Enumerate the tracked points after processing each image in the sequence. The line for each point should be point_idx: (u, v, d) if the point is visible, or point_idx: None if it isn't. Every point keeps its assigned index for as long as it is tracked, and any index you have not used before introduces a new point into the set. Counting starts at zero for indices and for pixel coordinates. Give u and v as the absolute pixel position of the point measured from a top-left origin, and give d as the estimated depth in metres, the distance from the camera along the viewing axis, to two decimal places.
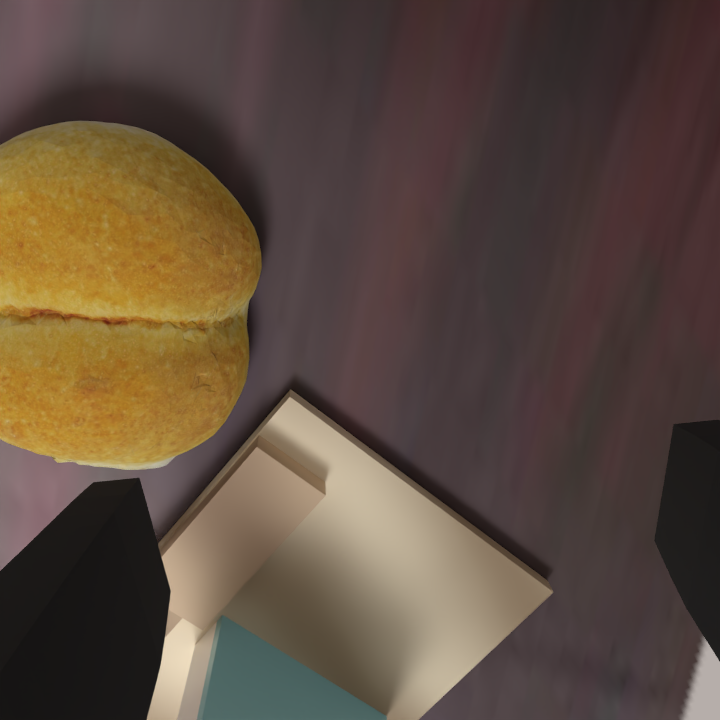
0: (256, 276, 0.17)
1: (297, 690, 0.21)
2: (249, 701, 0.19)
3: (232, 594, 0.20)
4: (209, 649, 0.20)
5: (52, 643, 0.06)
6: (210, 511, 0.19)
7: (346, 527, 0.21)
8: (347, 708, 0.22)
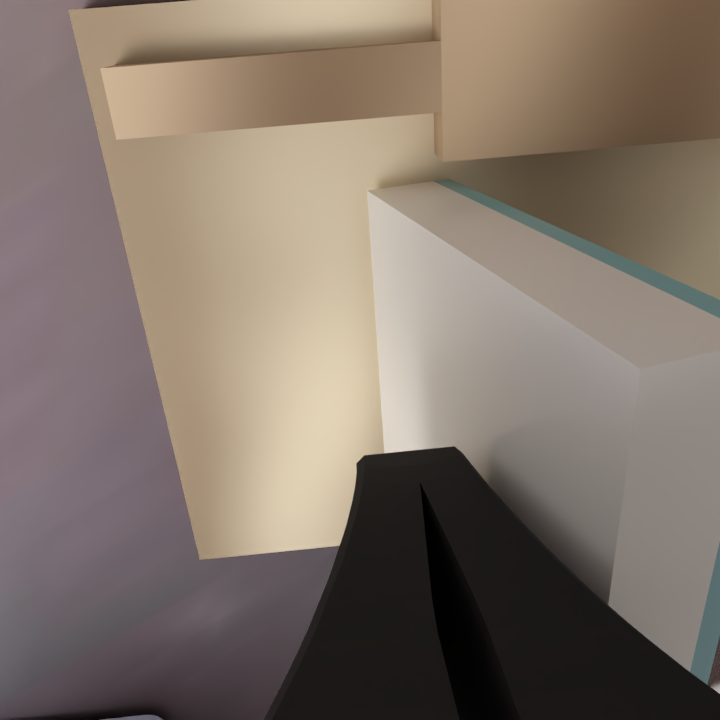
0: None
1: None
2: None
3: (541, 149, 0.11)
4: (457, 195, 0.10)
5: None
6: None
7: (718, 214, 0.12)
8: None
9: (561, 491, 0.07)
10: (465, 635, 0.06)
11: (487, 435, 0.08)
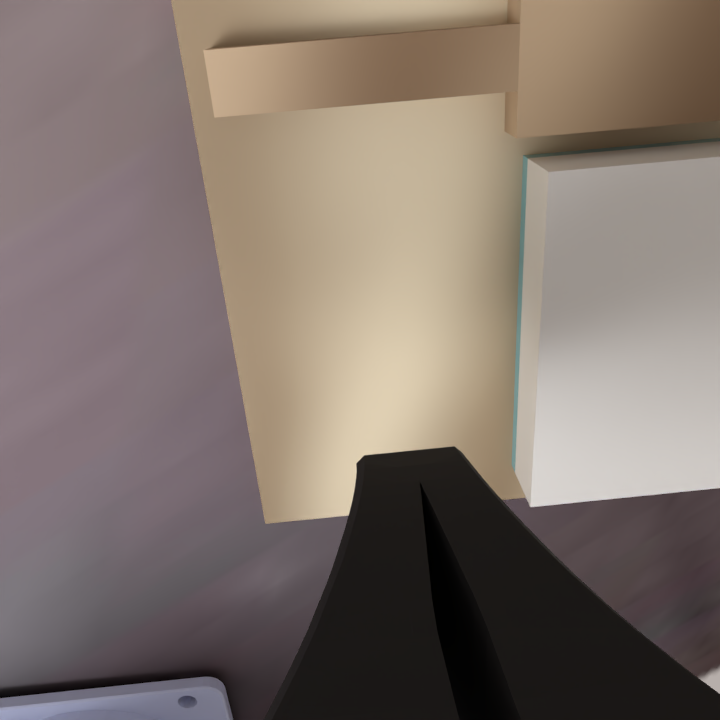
0: None
1: None
2: None
3: (609, 126, 0.11)
4: (594, 153, 0.12)
5: None
6: None
7: None
8: None
9: None
10: (465, 635, 0.06)
11: None
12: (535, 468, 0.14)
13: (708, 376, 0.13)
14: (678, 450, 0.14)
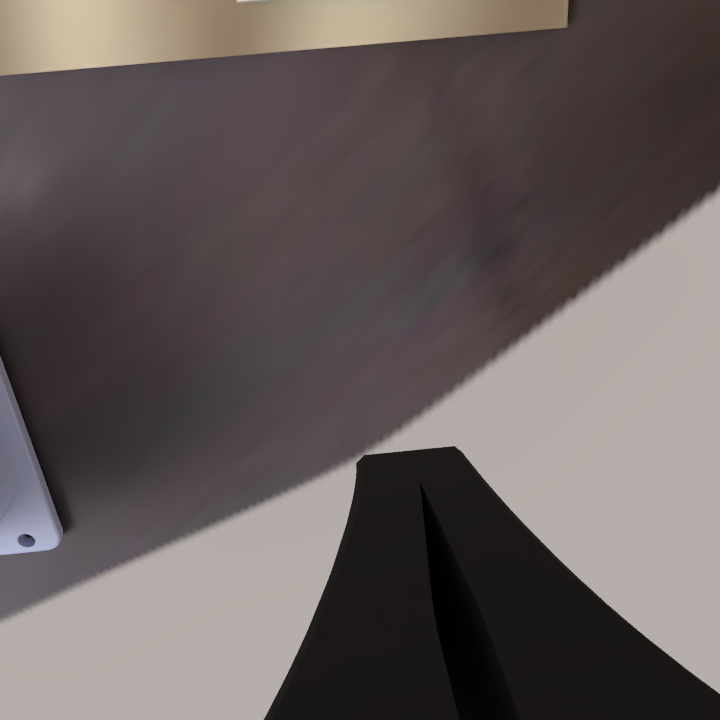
0: None
1: None
2: None
3: None
4: None
5: None
6: None
7: None
8: None
9: None
10: (465, 635, 0.06)
11: None
12: None
13: None
14: None
